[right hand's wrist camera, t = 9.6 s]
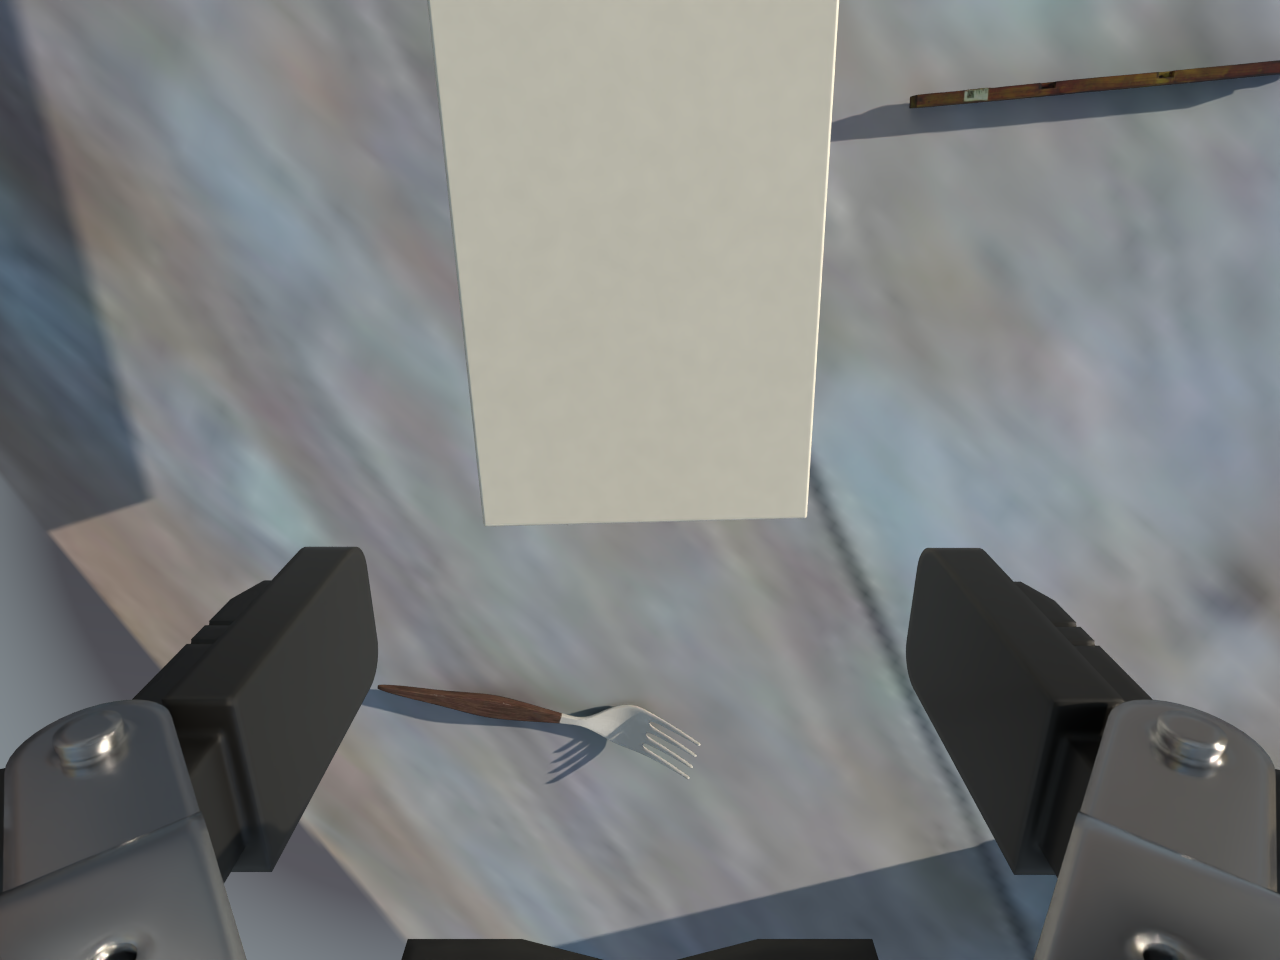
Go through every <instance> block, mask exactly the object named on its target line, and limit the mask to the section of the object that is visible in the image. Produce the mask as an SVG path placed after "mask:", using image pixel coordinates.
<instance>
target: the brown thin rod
mask: <svg viewBox="0 0 1280 960" xmlns="http://www.w3.org/2000/svg"><path fill="white" fill-rule="evenodd" d="M1275 74H1280V60H1279V61H1268V62H1258V63H1248V64H1238V65H1228V66H1217V67H1206V68H1196V69H1186V70H1176V71H1169V72H1154V73H1143V74H1132V75H1121V76H1109V77H1098V78H1087V79H1076V80H1066V81H1057V82H1049V83H1036V84H1026V85H1016V86H1006V87H998V88H980V89H970V90H964V91H955V92H944V93H931V94H922V95H915V96H912V97H910V108H922V107H933V106H944V105H956V104H968V103H978V102H989V101H1001V100H1012V99H1022V98H1032V97H1043V96H1054V95H1064V94H1073V93H1083V92H1094V91H1106V90H1117V89H1128V88H1139V87H1149V86H1160V85H1171V84H1182V83H1193V82H1203V81H1213V80H1223V79H1235V78H1246V77H1256V76H1265V75H1275Z"/></svg>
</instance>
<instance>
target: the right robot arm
mask: <svg viewBox="0 0 1280 960" xmlns="http://www.w3.org/2000/svg"><path fill="white" fill-rule="evenodd" d="M377 660H378V641H377V634H376V627H375V620H374V613H373V606H372V599H371V592H370V585H369V578H368V571H367V564H366V560H365V556H364V554H363V552H362V550H361V549H360V548H358V547H304V548H302V549H301V550H299V551H298V553H297V554H296V555H295V556H294V557H293V558H292V559H291V560H290V561H289V562H288V563H287V564H286V565H285V567H284V568H283V569H282V570H281V571H280V572H279V573H278V574H277V575H276V576H275V577H274V578H273V579H272V581H262V582H260V583H259V584H257V585H255V586H253V587H252V588H250V589H248V590H246V591H244V592H243V593H241V594H239V595H237V596H236V597H234V598H232V599H230V600H229V601H228V603H227V604H226V605H225V606H224V607H223V608H222V609H221V610H220V611H219V612H218V613H217V614H216V615H215V616H214V617H213V618H212V619H211V620H210V621H209V625H205V626H204V627H203V628H202V629H201V630H200V631H199V632H198V633H197V634H196V635H195V636H194V637H193V638H192V639H191V644H186V645H185V646H184V647H183V648H182V649H181V650H180V651H179V652H178V653H177V654H176V655H175V656H174V657H173V658H172V659H171V660H170V661H169V662H168V664H167V665H166V666H165V667H164V668H163V669H162V670H161V671H160V672H159V673H158V674H157V675H156V676H155V677H154V678H153V679H152V680H151V681H150V682H149V683H148V684H147V685H146V686H145V687H144V688H143V689H142V690H141V691H140V692H139V693H138V694H137V695H136V696H135V697H134V698H133V699H132V700H121V701H113V702H108V703H103V704H99V705H96V706H92V707H89V708H85V709H83V710H80V711H77V712H74V713H72V714H70V715H67V716H65V717H63V718H61V719H59V720H57V721H55V722H53V723H51V724H49V725H47V726H46V727H44V728H42V729H41V730H39V731H38V732H36V733H35V734H33V735H32V736H31V737H30V738H28V739H27V740H26V741H25V742H23V743H22V744H21V745H20V746H19V747H18V748H17V749H16V750H15V752H14V753H13V754H12V756H11V757H10V758H9V760H8V762H7V764H6V768H4V769H0V960H247V959H246V956H245V953H244V949H243V946H242V943H241V939H240V936H239V933H238V929H237V926H236V923H235V919H234V916H233V913H232V909H231V906H230V903H229V900H228V896H227V893H226V890H225V886H224V882H225V881H226V879H227V877H228V876H229V874H230V872H272V871H273V869H274V867H275V865H276V863H277V861H278V859H279V858H280V856H281V854H282V852H283V850H284V848H285V846H286V844H287V843H288V841H289V839H290V837H291V835H292V833H293V831H294V830H295V828H296V826H297V824H298V822H299V820H300V818H301V816H302V815H303V813H304V811H305V809H306V807H307V805H308V803H309V801H310V800H311V798H312V796H313V794H314V792H315V790H316V788H317V786H318V785H319V783H320V781H321V779H322V777H323V775H324V773H325V772H326V770H327V768H328V766H329V764H330V762H331V760H332V758H333V757H334V755H335V753H336V751H337V749H338V747H339V745H340V743H341V742H342V740H343V738H344V736H345V734H346V732H347V730H348V729H349V727H350V725H351V723H352V721H353V719H354V717H355V715H356V714H357V712H358V710H359V708H360V706H361V704H362V702H363V700H364V699H365V697H366V695H367V693H368V691H369V689H370V687H371V685H372V683H373V680H374V677H375V673H376V668H377ZM906 661H907V669H908V674H909V678H910V681H911V684H912V686H913V689H914V690H915V692H916V694H917V696H918V698H919V700H920V702H921V703H922V705H923V707H924V709H925V711H926V713H927V714H928V716H929V718H930V720H931V722H932V724H933V726H934V727H935V729H936V731H937V733H938V735H939V737H940V739H941V740H942V742H943V744H944V746H945V748H946V750H947V751H948V753H949V755H950V757H951V759H952V761H953V763H954V764H955V766H956V768H957V770H958V772H959V774H960V775H961V777H962V779H963V781H964V783H965V785H966V787H967V788H968V790H969V792H970V794H971V796H972V798H973V800H974V801H975V803H976V805H977V807H978V809H979V811H980V812H981V814H982V816H983V818H984V820H985V822H986V824H987V825H988V827H989V829H990V831H991V833H992V835H993V836H994V838H995V840H996V842H997V844H998V846H999V848H1000V849H1001V851H1002V853H1003V855H1004V857H1005V859H1006V860H1007V862H1008V864H1009V866H1010V868H1011V870H1012V872H1013V873H1014V875H1056V876H1057V878H1058V880H1057V883H1056V886H1055V890H1054V893H1053V896H1052V900H1051V903H1050V906H1049V909H1048V913H1047V916H1046V919H1045V923H1044V926H1043V929H1042V933H1041V936H1040V939H1039V943H1038V946H1037V949H1036V953H1035V956H1034V959H1033V960H1280V770H1277V769H1275V768H1274V764H1273V762H1272V760H1271V758H1270V757H1269V756H1268V754H1267V753H1266V752H1265V750H1264V749H1263V748H1262V747H1261V746H1260V745H1259V744H1258V743H1257V742H1256V741H1254V740H1253V739H1252V738H1250V737H1249V736H1248V735H1247V734H1245V733H1244V732H1242V731H1241V730H1239V729H1238V728H1236V727H1234V726H1233V725H1231V724H1229V723H1227V722H1225V721H1223V720H1221V719H1220V718H1217V717H1215V716H1213V715H1210V714H1208V713H1206V712H1203V711H1200V710H1197V709H1195V708H1192V707H1188V706H1184V705H1181V704H1177V703H1172V702H1167V701H1159V700H1153V699H1152V698H1151V697H1150V696H1149V695H1148V694H1147V693H1146V692H1145V691H1144V690H1143V689H1142V688H1141V687H1140V686H1139V685H1138V684H1137V683H1136V682H1135V681H1134V680H1133V679H1132V678H1131V677H1130V676H1129V675H1128V674H1127V673H1126V672H1125V671H1124V670H1123V669H1122V668H1121V667H1120V666H1119V665H1118V664H1117V663H1116V662H1115V661H1114V660H1113V659H1112V658H1111V657H1110V656H1109V655H1108V654H1107V653H1106V652H1105V651H1104V650H1103V649H1102V648H1101V647H1100V646H1095V644H1094V640H1093V639H1092V638H1091V637H1090V636H1089V635H1088V634H1087V633H1086V632H1085V631H1084V630H1083V629H1082V628H1081V627H1076V622H1075V621H1074V620H1073V619H1072V618H1071V617H1070V616H1069V615H1068V614H1067V613H1066V612H1065V611H1064V610H1063V609H1062V608H1061V607H1060V606H1059V605H1058V604H1057V603H1056V602H1055V601H1054V600H1052V599H1051V598H1049V597H1047V596H1045V595H1043V594H1042V593H1040V592H1038V591H1036V590H1035V589H1033V588H1031V587H1029V586H1027V585H1026V584H1024V583H1022V582H1013V581H1012V580H1011V579H1010V577H1009V576H1008V575H1007V574H1006V573H1005V572H1004V571H1003V570H1002V569H1001V568H1000V567H999V566H998V565H997V564H996V563H995V561H994V560H993V559H992V558H991V557H990V556H989V555H988V554H987V553H986V552H985V551H984V550H983V549H981V548H926V549H925V550H924V551H923V552H922V554H921V556H920V558H919V562H918V567H917V573H916V580H915V587H914V594H913V601H912V608H911V614H910V621H909V628H908V635H907V643H906ZM402 960H602V959H598V958H594V957H590V956H586V955H582V954H578V953H574V952H570V951H566V950H563V949H559V948H555V947H551V946H547V945H543V944H539V943H535V942H531V941H527V940H523V939H408V940H407V943H406V947H405V950H404V953H403V956H402ZM678 960H878V957H877V953H876V950H875V947H874V943H873V940H872V939H757V940H753V941H749V942H745V943H741V944H737V945H733V946H729V947H725V948H721V949H717V950H714V951H710V952H706V953H702V954H698V955H694V956H690V957H686V958H682V959H678Z"/></svg>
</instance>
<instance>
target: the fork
mask: <svg viewBox="0 0 1280 960" xmlns="http://www.w3.org/2000/svg"><path fill="white" fill-rule="evenodd" d="M378 689H380V690H382V691H385V692H388V693H392V694H395V695H399V696H403V697H407V698H411V699H415V700H419V701H423V702H427V703H431V704H436V705H440V706H443V707H447V708H451V709H455V710H459V711H463V712H466V713H470V714H475V715H479V716H484V717H489V718H496V719H505V720H518V721H533V722H548V723H562V724H572V725H578V726H582V727H585V728H587V729H590V730H592V731H594V732H595V733H597V734H599V735H601V736H603V737H604V738H606V739H608V740H610V741H612V742H614V743H616V744H619V745H621V746H623V747H626V748H629V749H631V750H634V751H636V752H639V753H641V754H644V755H646V756H648V757H650V758H652V759H653V760H655V761H657V762H659V763H661V764H663V765H664V766H666V767H668V768H670V769H672V770H673V771H675V772H677V773H678V774H680V775H682V776H683V777H685V778H686V779H689V776H687V775H686V774H685V773H683V772H682V771H680V770H679V769H677V768H676V767H674V766H673V765H671V764H670V763H668V762H667V761H665V760H664V759H662V758H661V757H659V756H658V755H656V754H654V753H653V752H651V751H650V750H648V749H647V748H645V747H644V746H643V744H648V745H650V746H652V747H654V748H656V749H658V750H660V751H662V752H664V753H666V754H668V755H669V756H671V757H673V758H675V759H677V760H678V761H680V762H682V763H683V764H685V765H687V766H688V767H690V768H693V766H692V765H691V764H689V763H688V762H687V761H685V760H684V759H682V758H681V757H679V756H678V755H676V754H675V753H673V752H672V751H670V750H669V749H667V748H666V747H664V746H662V745H661V744H659V743H658V742H656V741H654V740H653V739H651V738H650V737H648V736H647V734H646V733H651V734H653V735H656V736H658V737H660V738H662V739H664V740H665V741H667V742H669V743H671V744H673V745H675V746H676V747H678V748H680V749H682V750H684V751H685V752H687V753H689V754H690V755H692V756H694V757H696V754H694V753H693V752H692V751H690V750H689V749H687V748H686V747H684V746H683V745H681V744H680V743H678V742H677V741H675V740H674V739H672V738H670V737H669V736H667V735H666V734H664V733H662V732H661V731H659V730H658V729H656V728H654V727H653V726H652V725H651V724H650V723H649V722H655V723H657V724H659V725H661V726H663V727H665V728H667V729H669V730H671V731H673V732H675V733H677V734H678V735H680V736H682V737H684V738H686V739H688V740H689V741H691V742H693V743H694V744H696V745H697V746H700V743H699V742H697V741H696V740H694V739H693V738H691V737H690V736H688V735H687V734H685V733H684V732H682V731H680V730H679V729H677V728H676V727H674V726H673V725H671V724H669V723H668V722H666V721H664V720H663V719H661V718H659V717H657V716H656V715H654V714H652V713H650V712H649V711H647V710H645V709H643V708H640V707H638V706H634V705H619V706H615V707H611V708H609V709H606V710H604V711H601V712H599V713H596V714H594V715H590V716H586V717H575V716H570V715H566V714H563V713H559V712H555V711H552V710H549V709H545V708H542V707H538V706H535V705H531V704H528V703H524V702H521V701H517V700H513V699H510V698H505V697H501V696H496V695H489V694H480V693H468V692H455V691H443V690H434V689H425V688H417V687H408V686H397V685H378Z"/></svg>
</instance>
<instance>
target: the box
mask: <svg viewBox="0 0 1280 960" xmlns="http://www.w3.org/2000/svg"><path fill="white" fill-rule="evenodd" d="M427 2H428V11H429V20H430V30H431V39H432V48H433V58H434V67H435V76H436V86H437V95H438V104H439V113H440V123H441V132H442V141H443V151H444V160H445V169H446V179H447V188H448V197H449V207H450V216H451V225H452V234H453V244H454V253H455V262H456V272H457V281H458V290H459V300H460V309H461V318H462V328H463V337H464V346H465V356H466V365H467V374H468V383H469V393H470V402H471V411H472V421H473V430H474V439H475V449H476V458H477V467H478V477H479V486H480V495H481V505H482V514H483V523H484V526H521V525H560V524H598V523H636V522H674V521H713V520H751V519H789V518H806V516H807V504H808V488H809V472H810V456H811V440H812V424H813V408H814V392H815V376H816V360H817V344H818V328H819V312H820V296H821V280H822V264H823V248H824V232H825V216H826V200H827V184H828V168H829V152H830V136H831V120H832V104H833V88H834V72H835V56H836V40H837V24H838V8H839V0H427Z"/></svg>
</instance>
